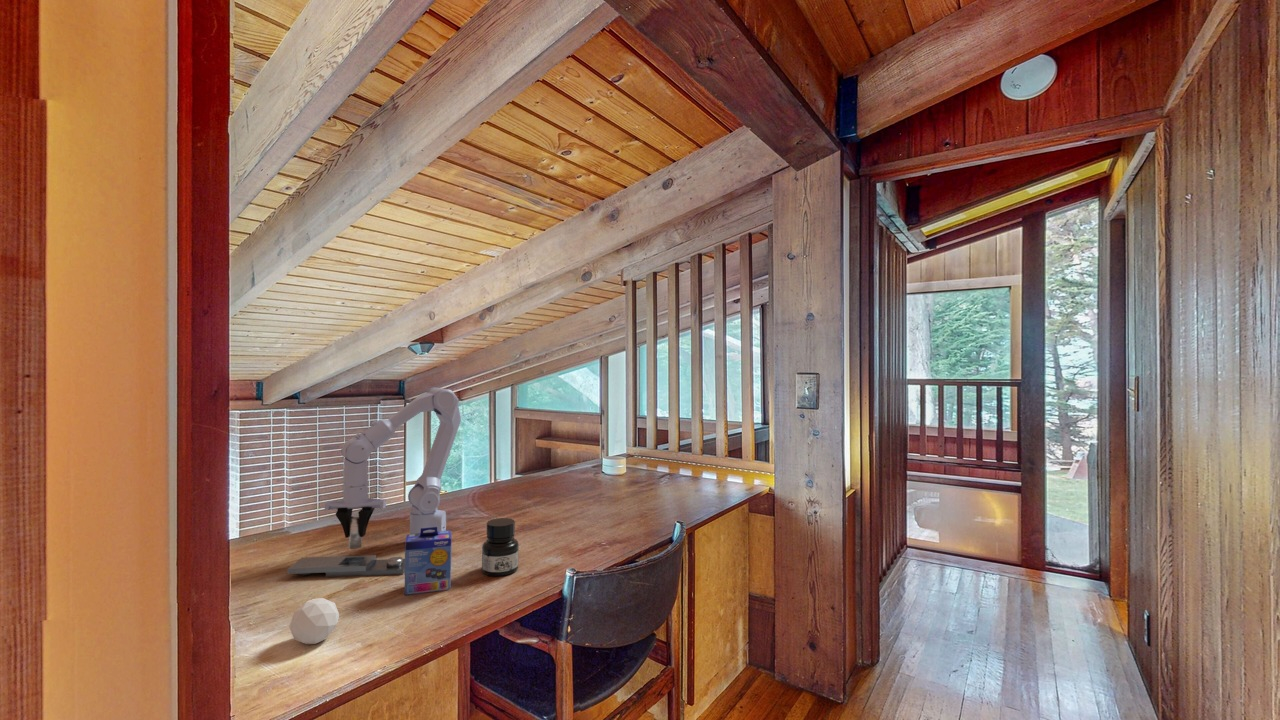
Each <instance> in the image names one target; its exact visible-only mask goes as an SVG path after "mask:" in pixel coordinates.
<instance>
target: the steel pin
mask: <svg viewBox="0 0 1280 720" xmlns="http://www.w3.org/2000/svg"><path fill="white" fill-rule="evenodd" d="M362 547H363V537H360V520H359V514H356V515H355V514H354V515H352V516H351V517H349V537H348V549H350V550H358V549H361V548H362Z"/></svg>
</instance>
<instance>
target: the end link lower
mask: <svg viewBox="0 0 1280 720" xmlns="http://www.w3.org/2000/svg"><path fill="white" fill-rule="evenodd" d="M359 563H360V562H350V563H345V564H344V565H353V564H359ZM395 575H405V558H403V557H401V556H392V557H389V558H387V559H376V561H375V562H374V563H373V564H372V565H371V566H370V567H369V568H368V569H367V570H366V571H349V572H325V578H344V577H345V578H347V577H365V576H366V577H369V576H371V577H372V576H395Z"/></svg>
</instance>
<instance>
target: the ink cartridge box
mask: <svg viewBox="0 0 1280 720" xmlns="http://www.w3.org/2000/svg"><path fill="white" fill-rule="evenodd" d="M426 530H435V531H433V532H423V531H426ZM404 543H405V544H404V548H405V549H404V559H405V572H404V596H409V595H416V594H423V593H424V594H425V593H433V592H442V591H450V589H451V586H452V585H451V584H452V583H451V582H452V581H451V580H452V530H446V531H438V530H437V527H429V528H421V531H420V533H416V534H410V533H409V534H406V539H405V542H404Z"/></svg>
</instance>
